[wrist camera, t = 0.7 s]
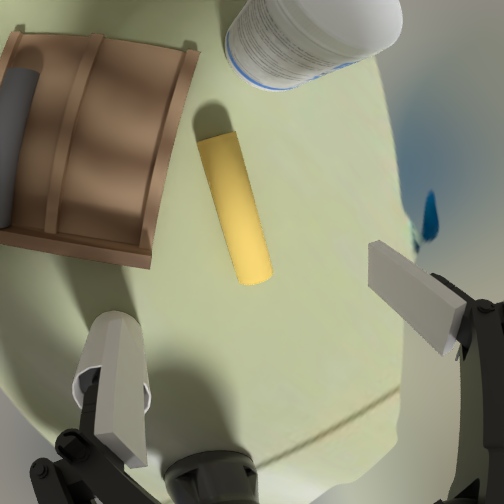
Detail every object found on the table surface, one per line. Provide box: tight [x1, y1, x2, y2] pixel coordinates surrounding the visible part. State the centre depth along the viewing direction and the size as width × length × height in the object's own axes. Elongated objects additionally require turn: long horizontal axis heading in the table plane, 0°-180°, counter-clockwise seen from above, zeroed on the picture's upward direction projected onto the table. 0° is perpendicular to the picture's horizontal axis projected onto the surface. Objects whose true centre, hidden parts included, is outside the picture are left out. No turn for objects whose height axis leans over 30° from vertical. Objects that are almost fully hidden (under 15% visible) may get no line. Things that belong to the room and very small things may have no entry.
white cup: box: [72, 310, 151, 414], centre depth 25 cm, size 7×7×10 cm
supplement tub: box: [225, 0, 403, 92], centre depth 20 cm, size 10×10×15 cm
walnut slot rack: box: [0, 31, 200, 269], centre depth 22 cm, size 20×20×3 cm
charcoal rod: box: [0, 67, 40, 228], centre depth 20 cm, size 14×4×4 cm, turn 165°
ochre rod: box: [197, 131, 273, 285], centre depth 29 cm, size 14×4×4 cm, turn 15°
